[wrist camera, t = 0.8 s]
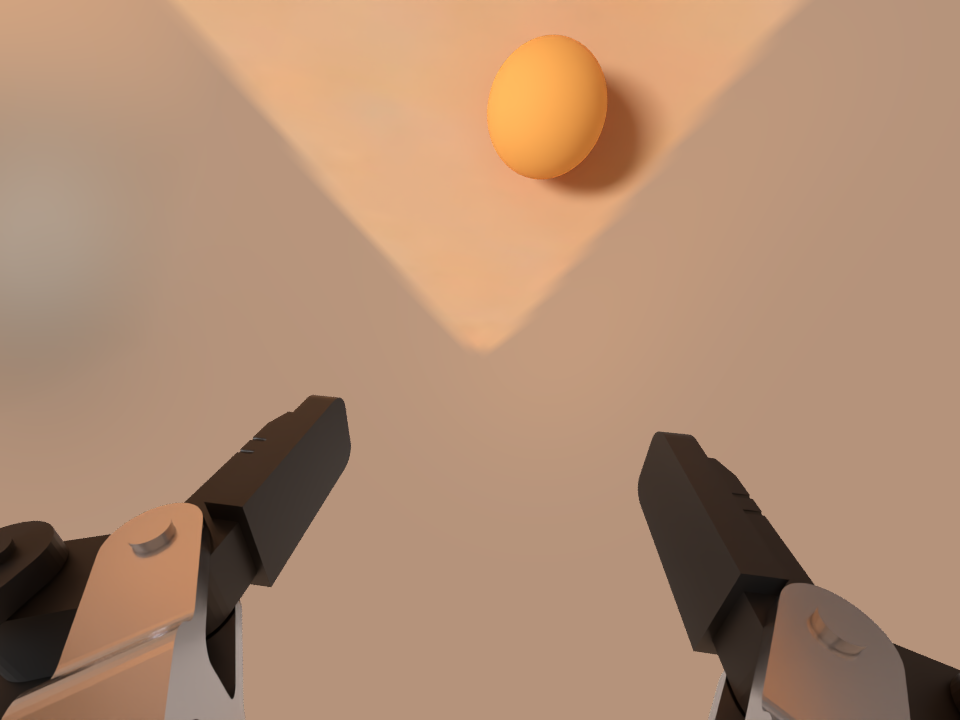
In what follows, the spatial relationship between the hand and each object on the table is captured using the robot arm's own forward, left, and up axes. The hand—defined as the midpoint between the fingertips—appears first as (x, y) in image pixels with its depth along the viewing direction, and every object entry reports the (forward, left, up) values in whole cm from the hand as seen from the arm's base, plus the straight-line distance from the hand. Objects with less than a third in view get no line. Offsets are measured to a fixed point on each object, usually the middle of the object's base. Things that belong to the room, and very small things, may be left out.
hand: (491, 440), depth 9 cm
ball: (-9, +1, -15) cm, 18 cm away
